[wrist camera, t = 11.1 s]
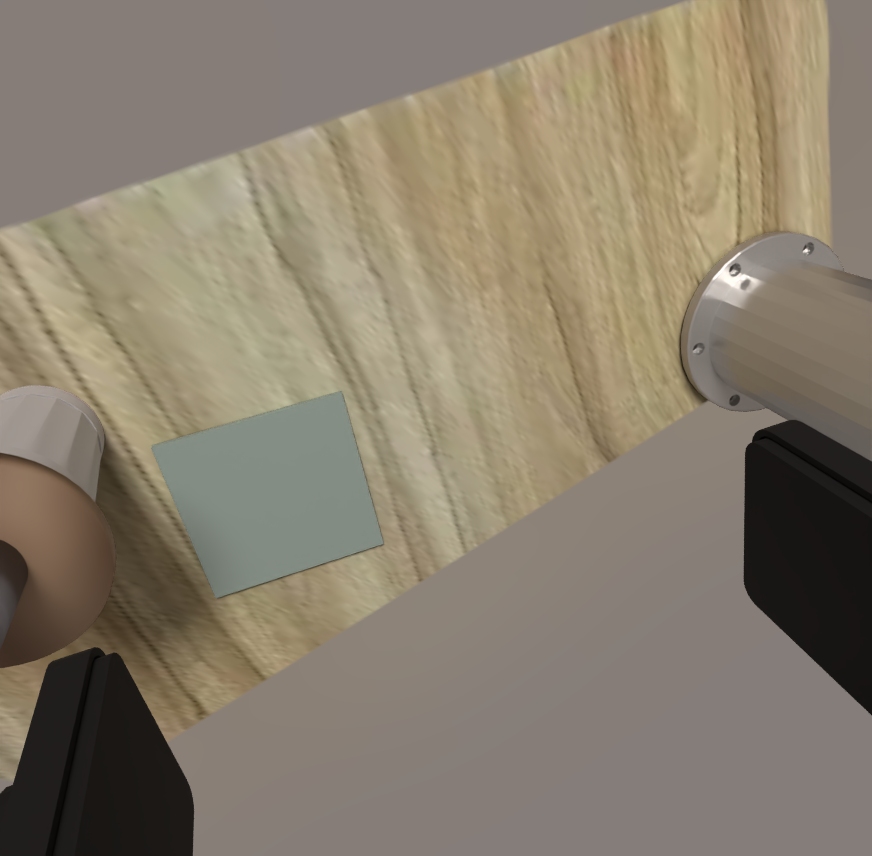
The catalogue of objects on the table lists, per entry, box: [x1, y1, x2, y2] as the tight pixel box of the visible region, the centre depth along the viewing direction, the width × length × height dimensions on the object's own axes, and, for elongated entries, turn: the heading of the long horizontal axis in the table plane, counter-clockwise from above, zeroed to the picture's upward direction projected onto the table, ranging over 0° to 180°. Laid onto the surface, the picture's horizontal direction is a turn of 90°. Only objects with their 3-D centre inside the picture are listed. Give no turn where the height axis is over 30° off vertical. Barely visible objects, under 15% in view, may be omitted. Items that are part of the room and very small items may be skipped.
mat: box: [151, 391, 384, 598], centre depth 46 cm, size 12×12×1 cm
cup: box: [0, 385, 104, 502], centre depth 36 cm, size 8×8×12 cm
